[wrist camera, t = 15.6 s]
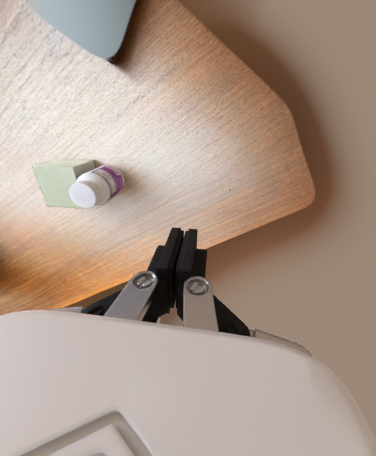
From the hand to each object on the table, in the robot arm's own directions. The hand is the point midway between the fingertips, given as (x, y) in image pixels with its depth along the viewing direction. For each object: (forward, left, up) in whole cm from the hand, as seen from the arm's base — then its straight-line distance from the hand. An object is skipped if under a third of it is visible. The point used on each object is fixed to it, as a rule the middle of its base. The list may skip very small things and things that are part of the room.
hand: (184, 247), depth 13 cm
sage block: (+19, -13, -24) cm, 33 cm away
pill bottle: (+14, -9, -24) cm, 29 cm away
